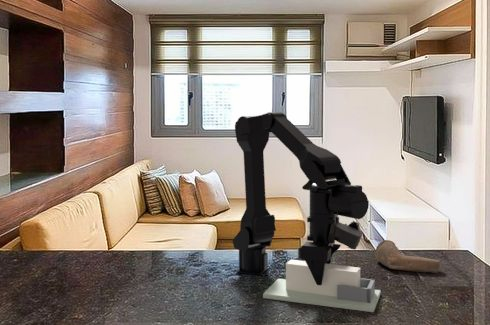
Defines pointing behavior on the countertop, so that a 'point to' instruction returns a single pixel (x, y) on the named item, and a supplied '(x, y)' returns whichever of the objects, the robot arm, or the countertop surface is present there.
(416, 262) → the pipe
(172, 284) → the countertop surface
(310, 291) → the block
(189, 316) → the countertop surface
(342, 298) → the bracket board
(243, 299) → the countertop surface
